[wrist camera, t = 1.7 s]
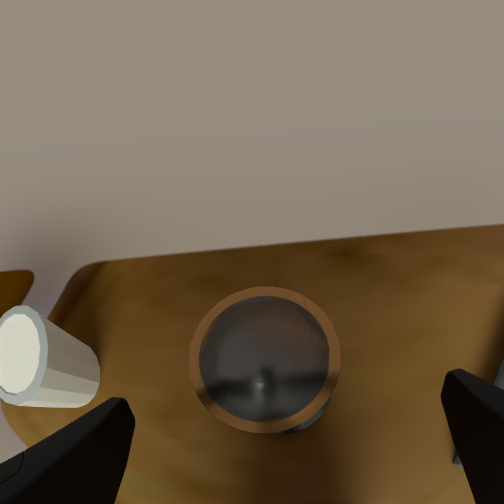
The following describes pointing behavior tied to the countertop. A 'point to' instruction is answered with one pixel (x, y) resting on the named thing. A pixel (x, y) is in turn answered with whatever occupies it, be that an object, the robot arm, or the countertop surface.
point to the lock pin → (265, 360)
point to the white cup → (44, 363)
